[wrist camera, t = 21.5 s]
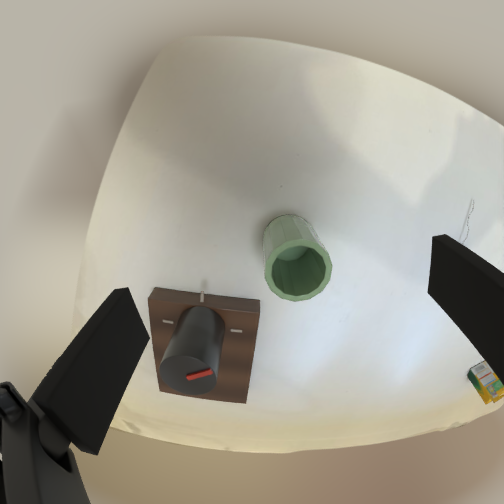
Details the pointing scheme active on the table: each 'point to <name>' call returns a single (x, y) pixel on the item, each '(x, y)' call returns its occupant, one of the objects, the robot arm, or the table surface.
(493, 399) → the crayon box
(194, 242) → the table surface
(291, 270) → the cup
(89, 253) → the table surface
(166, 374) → the black knob
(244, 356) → the wood base dial
